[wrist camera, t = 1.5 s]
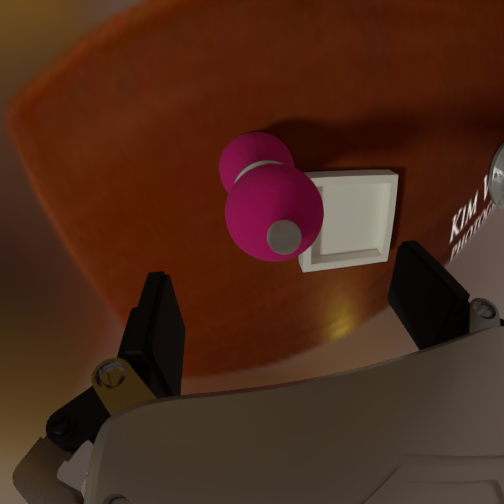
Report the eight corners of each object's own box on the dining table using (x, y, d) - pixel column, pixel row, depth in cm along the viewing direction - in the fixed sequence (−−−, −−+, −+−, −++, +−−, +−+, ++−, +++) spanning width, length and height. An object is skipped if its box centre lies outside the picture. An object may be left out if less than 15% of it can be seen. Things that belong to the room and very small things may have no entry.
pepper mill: (214, 182, 32) (201, 292, 15) (228, 121, 29) (229, 155, 12) (275, 195, 34) (326, 309, 17) (292, 136, 30) (377, 194, 13)
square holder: (388, 169, 33) (398, 175, 31) (379, 251, 39) (387, 261, 37) (297, 172, 33) (302, 178, 30) (298, 261, 39) (302, 272, 36)
